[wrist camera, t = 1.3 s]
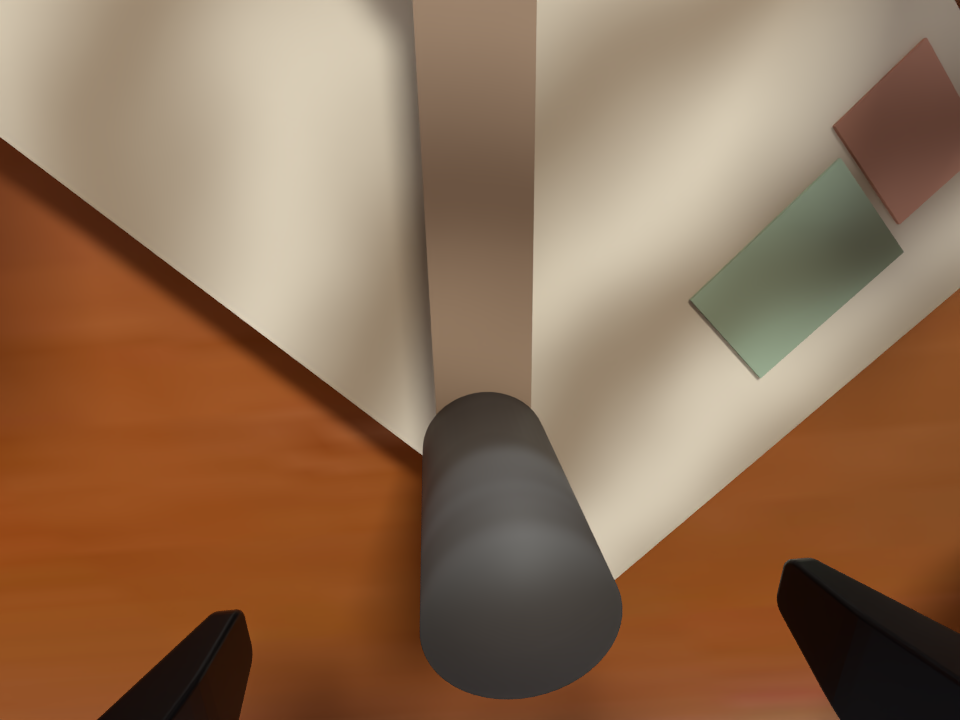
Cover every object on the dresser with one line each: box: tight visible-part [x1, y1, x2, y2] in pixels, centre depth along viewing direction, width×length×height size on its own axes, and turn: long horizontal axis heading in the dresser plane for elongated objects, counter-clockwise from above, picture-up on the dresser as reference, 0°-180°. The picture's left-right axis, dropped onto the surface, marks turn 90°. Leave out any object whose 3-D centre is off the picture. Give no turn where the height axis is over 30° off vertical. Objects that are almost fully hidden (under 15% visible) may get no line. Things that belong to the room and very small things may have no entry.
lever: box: [412, 0, 622, 699], centre depth 8 cm, size 20×4×7 cm, turn 2°
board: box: [0, 0, 960, 580], centre depth 13 cm, size 23×18×2 cm
